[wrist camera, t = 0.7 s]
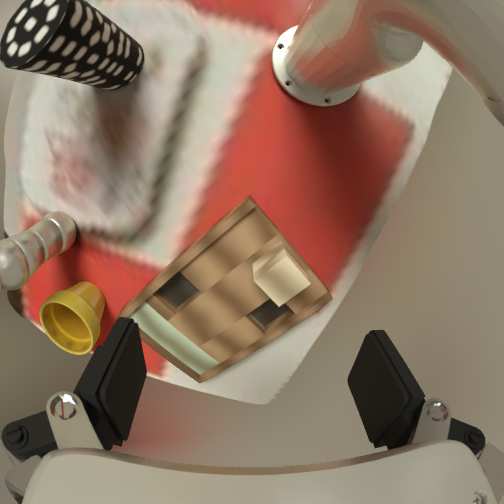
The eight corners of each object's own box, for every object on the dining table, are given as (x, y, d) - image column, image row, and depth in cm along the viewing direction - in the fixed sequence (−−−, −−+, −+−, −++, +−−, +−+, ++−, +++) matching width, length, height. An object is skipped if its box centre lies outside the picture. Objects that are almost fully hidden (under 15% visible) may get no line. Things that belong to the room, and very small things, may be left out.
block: (281, 240, 37) (287, 255, 32) (302, 266, 39) (310, 283, 34) (252, 263, 38) (254, 281, 33) (274, 287, 40) (279, 306, 35)
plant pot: (89, 260, 40) (59, 289, 31) (126, 308, 43) (105, 345, 34) (57, 285, 41) (29, 315, 32) (91, 328, 45) (70, 362, 36)
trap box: (249, 194, 37) (250, 200, 34) (326, 287, 43) (332, 298, 40) (123, 306, 43) (116, 318, 40) (201, 370, 49) (199, 383, 46)
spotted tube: (83, 71, 28) (-10, 48, 10) (121, 29, 26) (46, -25, 8) (114, 101, 31) (18, 84, 12) (155, 57, 29) (85, -1, 10)
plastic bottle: (76, 252, 39) (3, 321, 21) (47, 234, 37) (-31, 292, 19) (85, 218, 37) (0, 278, 18) (54, 200, 35) (-34, 248, 17)
